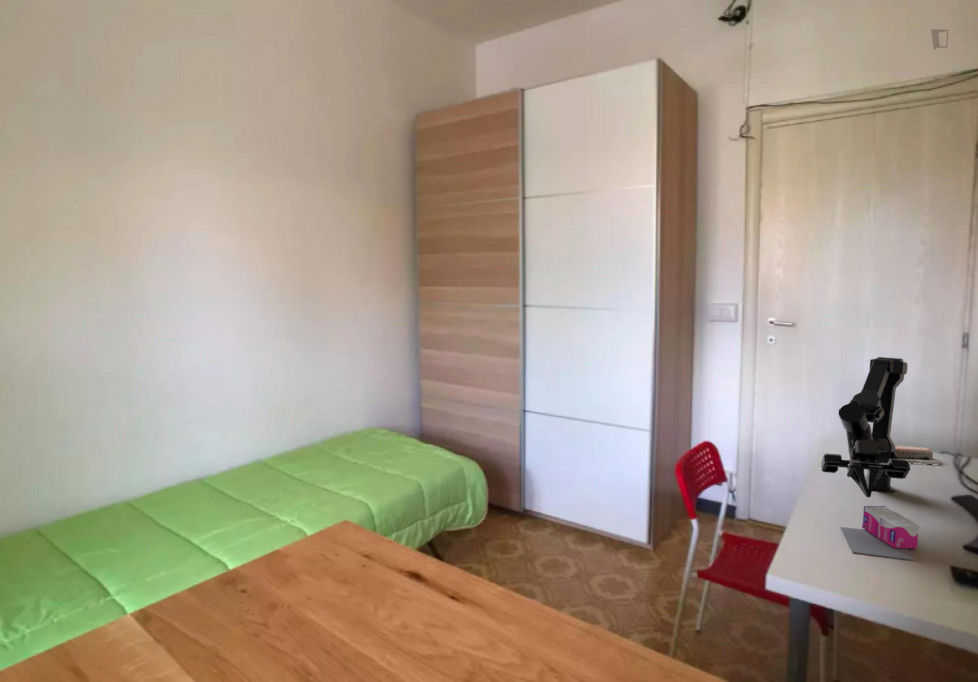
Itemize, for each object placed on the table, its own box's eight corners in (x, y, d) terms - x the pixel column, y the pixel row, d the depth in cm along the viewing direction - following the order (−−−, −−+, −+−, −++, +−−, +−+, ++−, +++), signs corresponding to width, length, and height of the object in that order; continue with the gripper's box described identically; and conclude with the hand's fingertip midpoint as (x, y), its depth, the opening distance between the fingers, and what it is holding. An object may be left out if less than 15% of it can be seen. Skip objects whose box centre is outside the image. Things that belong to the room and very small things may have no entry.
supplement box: (862, 505, 145) (896, 525, 133) (884, 505, 145) (921, 525, 134) (860, 527, 145) (894, 549, 134) (883, 527, 146) (919, 548, 134)
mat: (840, 528, 147) (840, 526, 147) (896, 534, 142) (896, 533, 142) (852, 553, 134) (852, 551, 134) (914, 560, 129) (914, 559, 129)
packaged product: (877, 448, 195) (868, 440, 204) (876, 462, 195) (867, 454, 205) (940, 452, 189) (928, 444, 198) (939, 466, 190) (928, 457, 199)
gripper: (824, 423, 150) (830, 478, 141) (910, 428, 144) (922, 486, 135) (818, 444, 158) (824, 497, 149) (899, 450, 152) (910, 506, 143)
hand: (868, 496), depth 144 cm, fingers closed
